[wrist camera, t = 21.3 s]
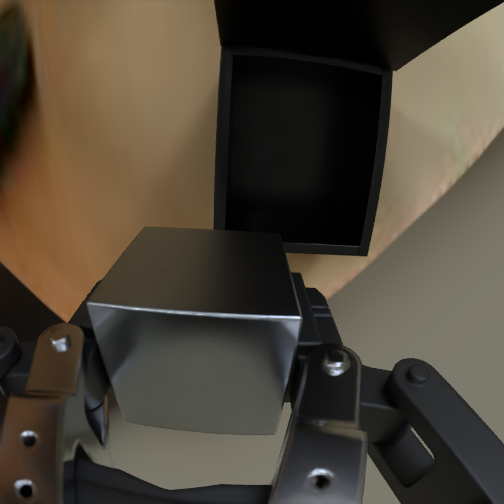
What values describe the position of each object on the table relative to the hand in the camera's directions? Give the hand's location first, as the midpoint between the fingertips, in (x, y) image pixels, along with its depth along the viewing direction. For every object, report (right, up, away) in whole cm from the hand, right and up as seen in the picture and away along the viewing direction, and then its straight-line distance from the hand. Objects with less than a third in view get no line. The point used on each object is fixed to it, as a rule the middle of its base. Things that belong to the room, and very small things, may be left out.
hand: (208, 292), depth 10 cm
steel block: (0, 0, 0) cm, 0 cm away
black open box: (+5, +12, +19) cm, 23 cm away
